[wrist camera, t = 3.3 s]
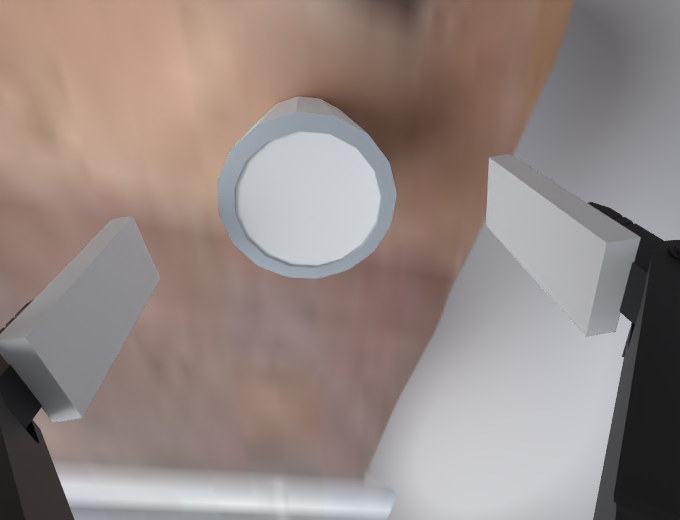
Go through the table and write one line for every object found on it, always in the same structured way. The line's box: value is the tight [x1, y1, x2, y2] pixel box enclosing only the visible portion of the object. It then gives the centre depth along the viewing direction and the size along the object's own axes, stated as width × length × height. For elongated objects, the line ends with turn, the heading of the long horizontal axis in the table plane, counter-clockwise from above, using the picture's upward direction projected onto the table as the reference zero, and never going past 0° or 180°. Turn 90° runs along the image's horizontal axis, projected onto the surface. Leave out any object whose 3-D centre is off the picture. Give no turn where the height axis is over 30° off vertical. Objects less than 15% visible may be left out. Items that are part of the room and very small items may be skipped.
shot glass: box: [218, 96, 397, 279], centre depth 18 cm, size 7×7×7 cm
